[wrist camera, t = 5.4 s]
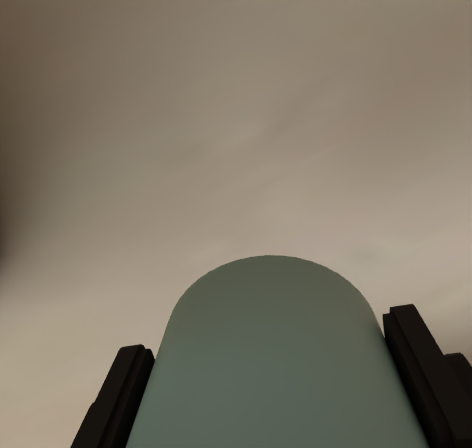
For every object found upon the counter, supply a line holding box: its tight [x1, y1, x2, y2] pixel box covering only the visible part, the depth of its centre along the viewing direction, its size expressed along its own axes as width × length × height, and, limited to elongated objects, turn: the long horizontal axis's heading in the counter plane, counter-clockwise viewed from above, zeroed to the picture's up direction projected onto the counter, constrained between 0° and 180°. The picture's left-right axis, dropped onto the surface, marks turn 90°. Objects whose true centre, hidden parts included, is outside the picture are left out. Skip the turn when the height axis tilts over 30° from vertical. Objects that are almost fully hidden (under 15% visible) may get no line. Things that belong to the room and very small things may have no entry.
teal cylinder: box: [126, 255, 431, 448], centre depth 9 cm, size 6×6×6 cm
